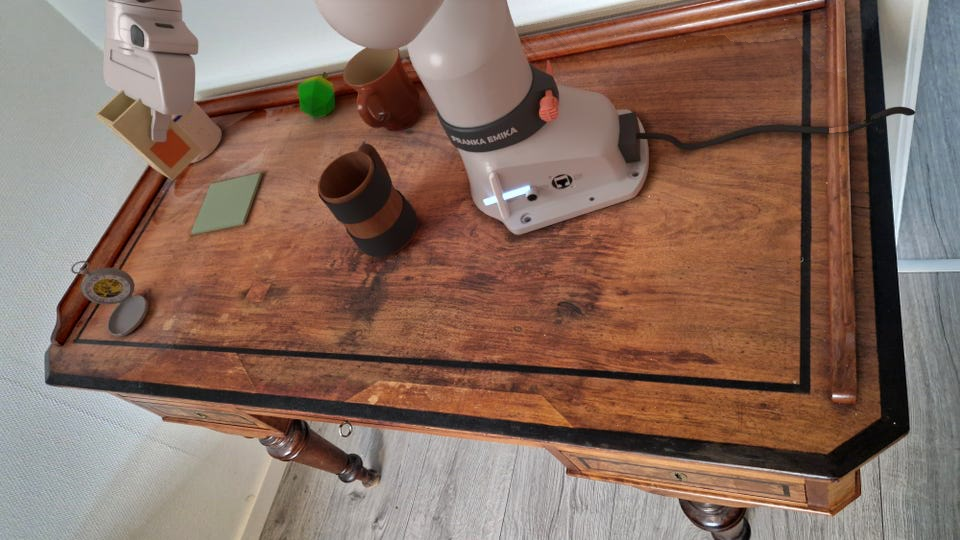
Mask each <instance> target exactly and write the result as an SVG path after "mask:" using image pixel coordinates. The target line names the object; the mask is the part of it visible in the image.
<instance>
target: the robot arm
mask: <svg viewBox="0 0 960 540" xmlns="http://www.w3.org/2000/svg"><path fill="white" fill-rule="evenodd" d="M313 2H314V5H315V7H316V9H317V11H318V12H319V14H320V16H322V18H323V19H324V20H325V22H326V23H327V24H328V25H329V26H330V27H331V28H332V29H333V30H334V31H335V32H336V33H337V34H338V35H340V36H341V37H343V38H344V39H346V40H347V41H349V42H351V43H353V44H355V45H358V46H360V47H363V48H370V49H376V50H392V49H397V48H398V49H400V48H404V47H405V46H406V48H407V52H408V57H409V60H410V62H411V65H412V67H413V69H414V71H415V73H416V74H417V76H418V78H419V80H420V82H421V83H422V85H423V86H424V89H425V91H426V92H427V94H428V96H429V98H430V99H431V101H432V103H433V105H434V106H435V108H436V109H435V113H436V116H437V119H438V121H439V123H440V125H441V127H442V130H443V131H444V133H445V135H446V137H447V138H448V140H449V141H450V144H451V145H452V146H453V147H454V148H456V149H457V151H458V153H459V155H460V157H461V160H462V162H463V165H464V169H465V172H466V174H467V178H468V182H469V187H470V194H471V198H472V201H473V203H474V204H475V206H476V207H477V208H478V209H479V210H480V211H481V212H482V213H484V214H485V215H487V216H488V217H491V218H493V219H495V220H498V221H500V222H502V223H503V225H504V226H505V227H506V228H507V229H508V231H509V232H511V234H512V235H513V234H514V235H518V236H519V235H524V234H527V233H531V232H533V231H536V230H537V231H538V230H540V229H542V228H546V227H549V226H552V225H555V224H559V223H561V222H564V221H568V220H571V219H573V218H576V217H580V216H582V215H586V214H589V213H592V212H595V211H598V210H602V209H604V208H607V207H612V206H614V205H618V204H620V203H622V202H626V201H628V200H631V199H634V198H635V197H637V196H638V194H639V193H640V191H641V190H642V188H643V186H644V185H645V182H646V180H647V177H648V171H649V165H650V148H649V142H648V140H659V141H660V140H661V141H667V142H669V143H671V144H672V145H673V146H675V148H677V149H680V150H684V151H685V150H686V151H695V150H700V149H705V148H708V147H712V146H716V145H719V144H723V143H726V142H729V141H732V140H734V139H738V138H741V137H744V136H748V135H753V134H759V133H770V132H771V133H773V132H774V133H777V132H778V133H779V132H783V133H785V132H787V133H796V134H797V133H798V134H813V135H830V134H829V127H830V126H811V125H810V126H808V125H797V124H796V125H795V124H794V125H793V124H763V125H757V126H756V125H755V126H751V127H745V128H742V129H739V130H735V131H733V132H730V133H727V134H724V135H722V136H719V137H716V138H712V139H709V140H706V141H702V142H693V143H691V142H690V143H689V142H688V143H687V142H682V141H680V140H679V139H678V138H677V137H675V136H674V135H671V134H669V133H664V132H663V133H662V132H646V131H645V129H644V128H645V127H644V125H643V123H642V122H641V120H640V118H639V117H638V116H637V112H636V111H631V110H630V109H626V108H625V109H624V108H623V109H622V108H621V109H616V107H615V105H614V104H613V103H612V101H611V100H610V99H609V98H608V97H607V96H606V95H604V94H603V93H601V92H597V91H593V90H592V91H591V90H587V89H583V88H582V89H581V88H577V87H572V86H569V85H564V84H560V83H556V81H555V78H554V69H553V66H552V64H551V61H550V60H549V59H547V60H546V72H545V71H543V70H541V69H539V68H538V67H536V66H535V65H534V64H533V63H531V62H530V61H529V60H528V57H527V55H526V52H525V50H524V47H523V44H522V41H521V39H520V36H519V33H518V31H517V28H516V25H515V22H514V20H513V18H512V14H511V11H510V7H509V3H508V0H313ZM104 3H105V29H106V30H105V33H106V34H105V35H106V36H105V38H104V43H103V59H102V61H103V64H102V66H103V67H102V68H103V69H102V75H103V76H102V77H103V81H104V83H105V86H106V87H107V88H110V89H111V90H113V91H115V92H117V93H119V92H120V91H121V90H122V89H123V90H124V94H125V95H126V96H128V97H130V98H132V99H134V100H137V99H138V98H141V102H142V104H144V105H146V106H148V107H150V108H151V116H153V118H152V124H151V127H148V131H149V138H150V139H151V140H153V141H155V142H165V141H166V140H167V128H168V126H169V123H170V121H171V118H172V115H189V114H190V112H191V110H192V108H193V104H194V101H195V90H196V63H195V60H194V57H193V56H194V55H195V56H196V55H198V53H199V40H198V38H197V36H196V35H195V34H194V33H193V32H192V31H191V30H190V29H189V27H188V26H187V24H186V22H185V20H183V5H182V1H181V0H105V2H104ZM884 110H885V111H884ZM884 110H881V111H879V112H877V113H874V114H872V115H870V116H871V120H872V118H874V119H877V118H880V117H881V116H882V118H881V119H879V120H876V121H873V122H869V123H864V124H858V122H860V121H861V120H860V121H857V122H854V123H850V124H847V125H848V127H849V132H848V133H850V132H854V131H858V130H861V129H863V128H866V127H867V126H870V125H872V124H875V123H877V122H878V121H880V120H883V119H885V118H887V117H890V116H893V115H903V116H908V117H911V116H914V115H915V114H916V111H915V110H914V109H912V108H910V107H906V106H892V107H887V108H885V109H884ZM883 116H884V118H883Z"/></svg>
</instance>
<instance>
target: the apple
mask: <svg viewBox="0 0 960 540" xmlns="http://www.w3.org/2000/svg"><path fill="white" fill-rule="evenodd" d="M328 77H329V74H328V73H327V72H325V71H323V73H322V75H315V76H312V77H308V78H306V79H304V80H303V81H302V82H300V83H299V84H297V91H298V101H299V108H300V111H301V112H303V113H304V114H306V115H308V116H309V117H312V119H316V118H321V117H327V115H329V114H330V113H331V112H332V111H334V109H336V99H335V98H336V97H335V89H334V84H333V83H334V82H332V81H328V80H329V79H327V78H328Z"/></svg>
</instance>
